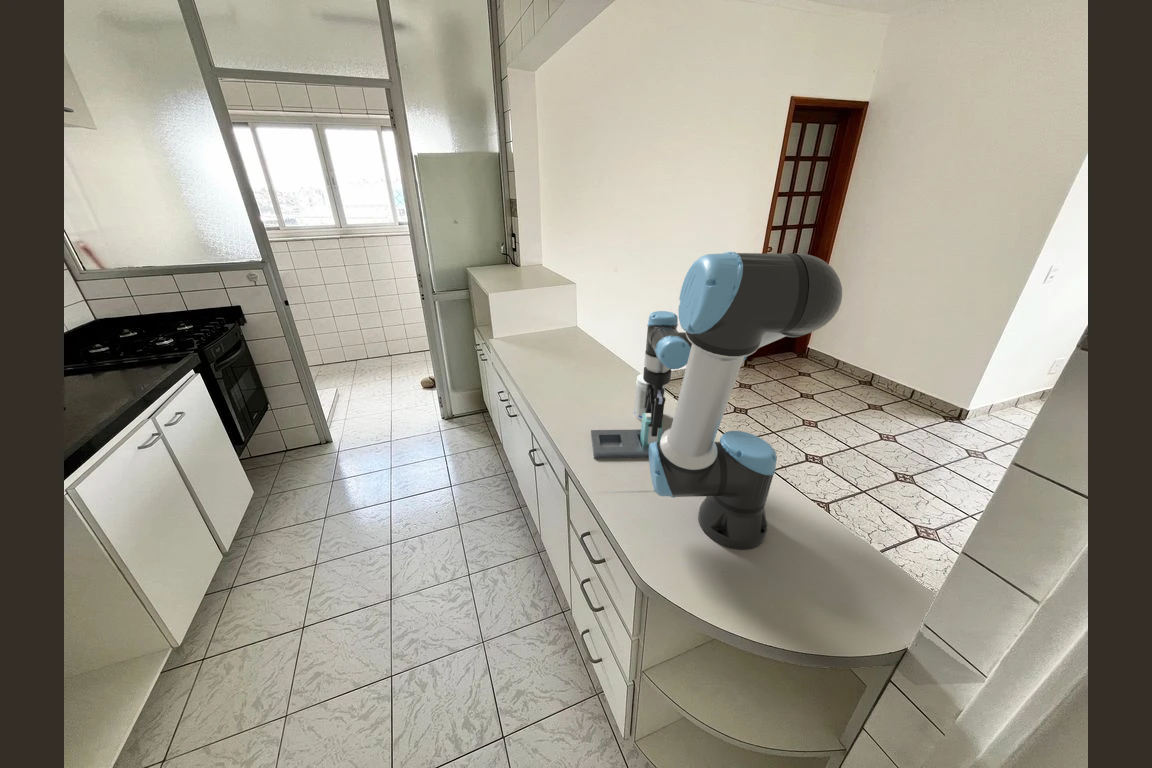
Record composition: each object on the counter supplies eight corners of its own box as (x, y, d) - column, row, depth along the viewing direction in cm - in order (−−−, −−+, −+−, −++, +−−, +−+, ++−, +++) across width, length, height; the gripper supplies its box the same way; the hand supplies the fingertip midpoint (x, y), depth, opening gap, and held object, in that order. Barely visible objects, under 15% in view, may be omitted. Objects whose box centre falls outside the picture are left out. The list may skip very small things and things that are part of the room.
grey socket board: (672, 458, 120) (673, 451, 119) (593, 459, 119) (593, 452, 118) (662, 435, 131) (663, 429, 130) (590, 436, 130) (590, 430, 129)
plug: (659, 450, 123) (663, 419, 118) (642, 450, 123) (645, 419, 118) (655, 440, 127) (659, 410, 123) (639, 441, 127) (642, 410, 122)
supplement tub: (667, 419, 140) (672, 380, 134) (646, 427, 135) (650, 387, 129) (648, 407, 147) (651, 370, 141) (627, 414, 143) (630, 376, 136)
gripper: (679, 381, 106) (669, 455, 116) (663, 355, 122) (656, 422, 132) (651, 381, 105) (643, 456, 115) (638, 355, 121) (633, 422, 132)
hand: (650, 438), depth 124 cm, fingers closed on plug, 5 cm apart
